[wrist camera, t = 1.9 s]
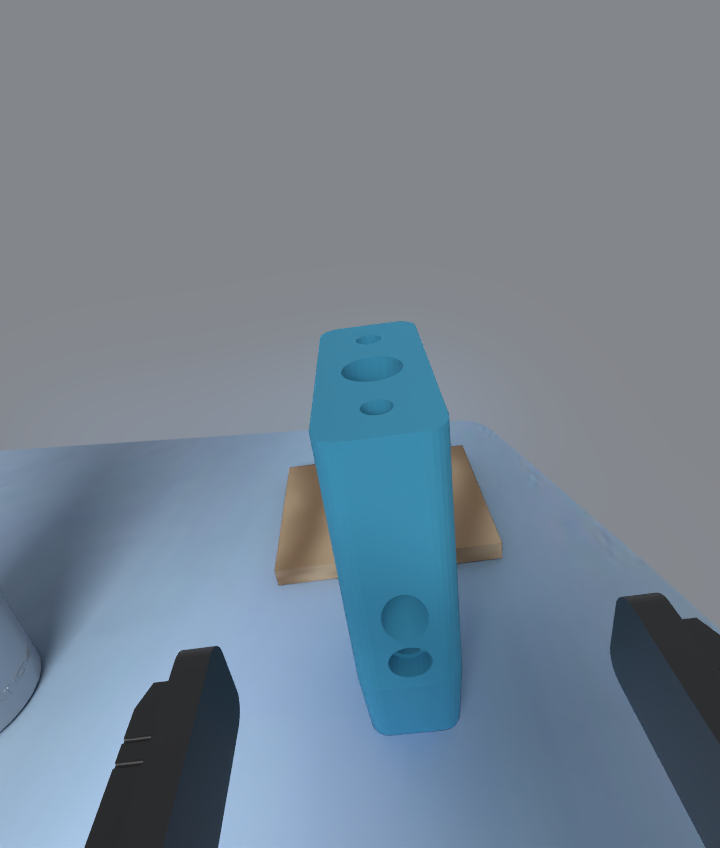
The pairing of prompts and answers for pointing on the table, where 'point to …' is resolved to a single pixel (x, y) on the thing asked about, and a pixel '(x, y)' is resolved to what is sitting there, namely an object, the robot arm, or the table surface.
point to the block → (391, 521)
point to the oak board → (310, 541)
